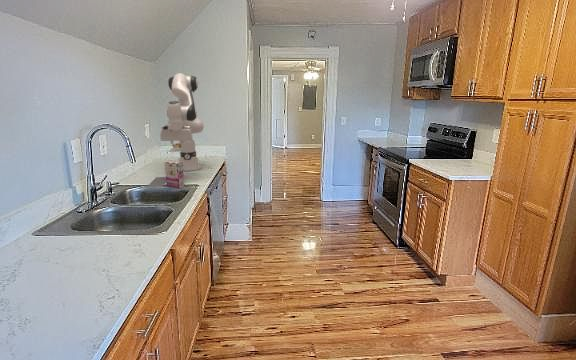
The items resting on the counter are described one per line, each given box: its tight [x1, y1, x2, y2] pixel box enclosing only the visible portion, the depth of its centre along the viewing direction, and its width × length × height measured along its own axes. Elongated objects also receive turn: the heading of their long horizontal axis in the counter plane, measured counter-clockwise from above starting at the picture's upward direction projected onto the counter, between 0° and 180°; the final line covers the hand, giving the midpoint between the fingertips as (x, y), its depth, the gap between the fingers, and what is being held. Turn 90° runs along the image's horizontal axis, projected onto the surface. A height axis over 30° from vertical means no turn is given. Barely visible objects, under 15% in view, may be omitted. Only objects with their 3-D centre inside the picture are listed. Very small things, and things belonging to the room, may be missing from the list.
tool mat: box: [147, 176, 167, 187], centre depth 222 cm, size 24×10×1 cm, turn 8°
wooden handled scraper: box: [169, 142, 182, 153], centre depth 219 cm, size 17×6×3 cm, turn 8°
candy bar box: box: [164, 160, 186, 189], centre depth 209 cm, size 11×5×16 cm, turn 62°
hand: (177, 147), depth 222 cm, fingers closed on wooden handled scraper, 3 cm apart
